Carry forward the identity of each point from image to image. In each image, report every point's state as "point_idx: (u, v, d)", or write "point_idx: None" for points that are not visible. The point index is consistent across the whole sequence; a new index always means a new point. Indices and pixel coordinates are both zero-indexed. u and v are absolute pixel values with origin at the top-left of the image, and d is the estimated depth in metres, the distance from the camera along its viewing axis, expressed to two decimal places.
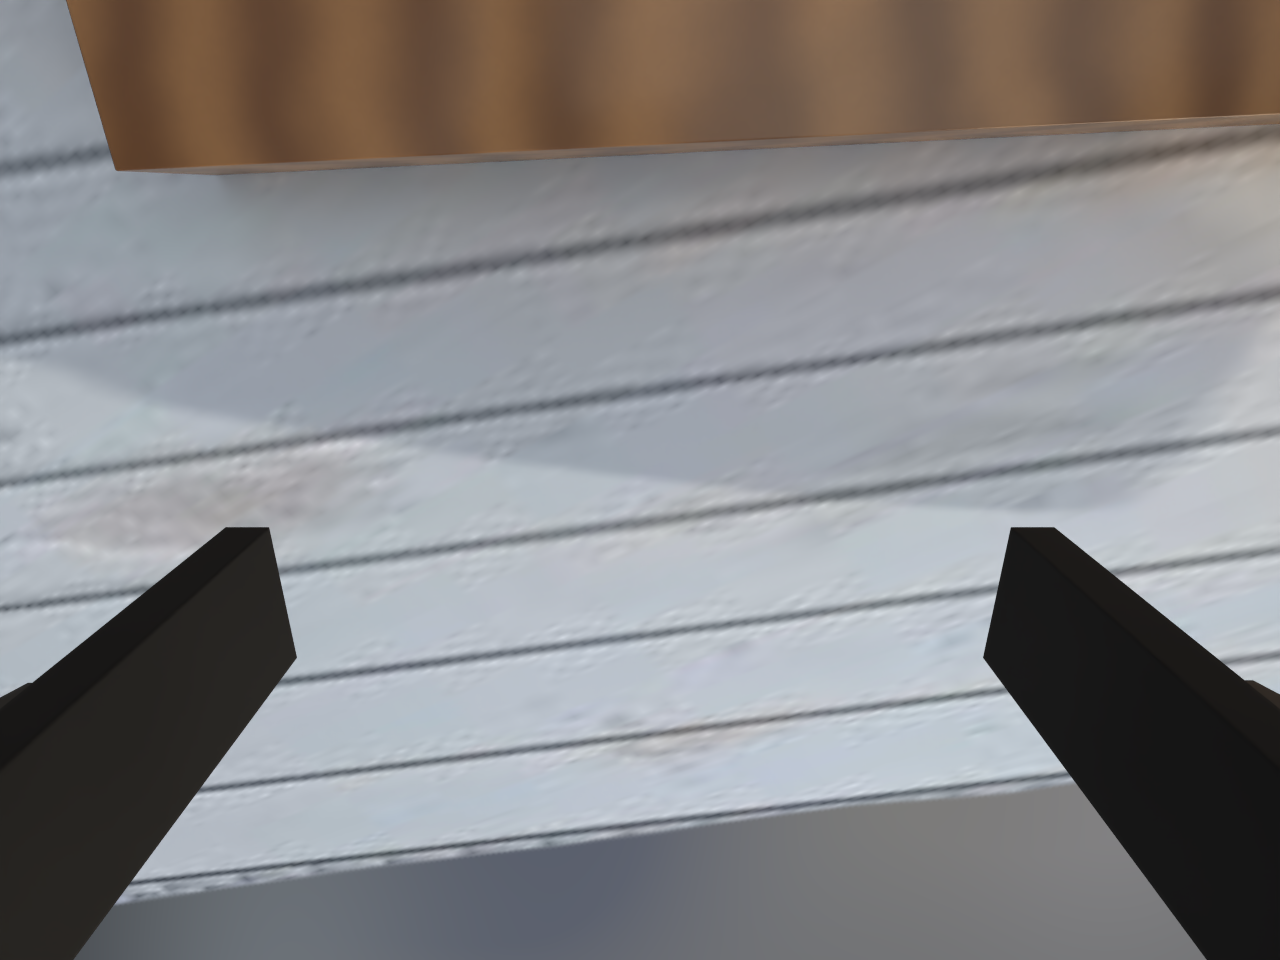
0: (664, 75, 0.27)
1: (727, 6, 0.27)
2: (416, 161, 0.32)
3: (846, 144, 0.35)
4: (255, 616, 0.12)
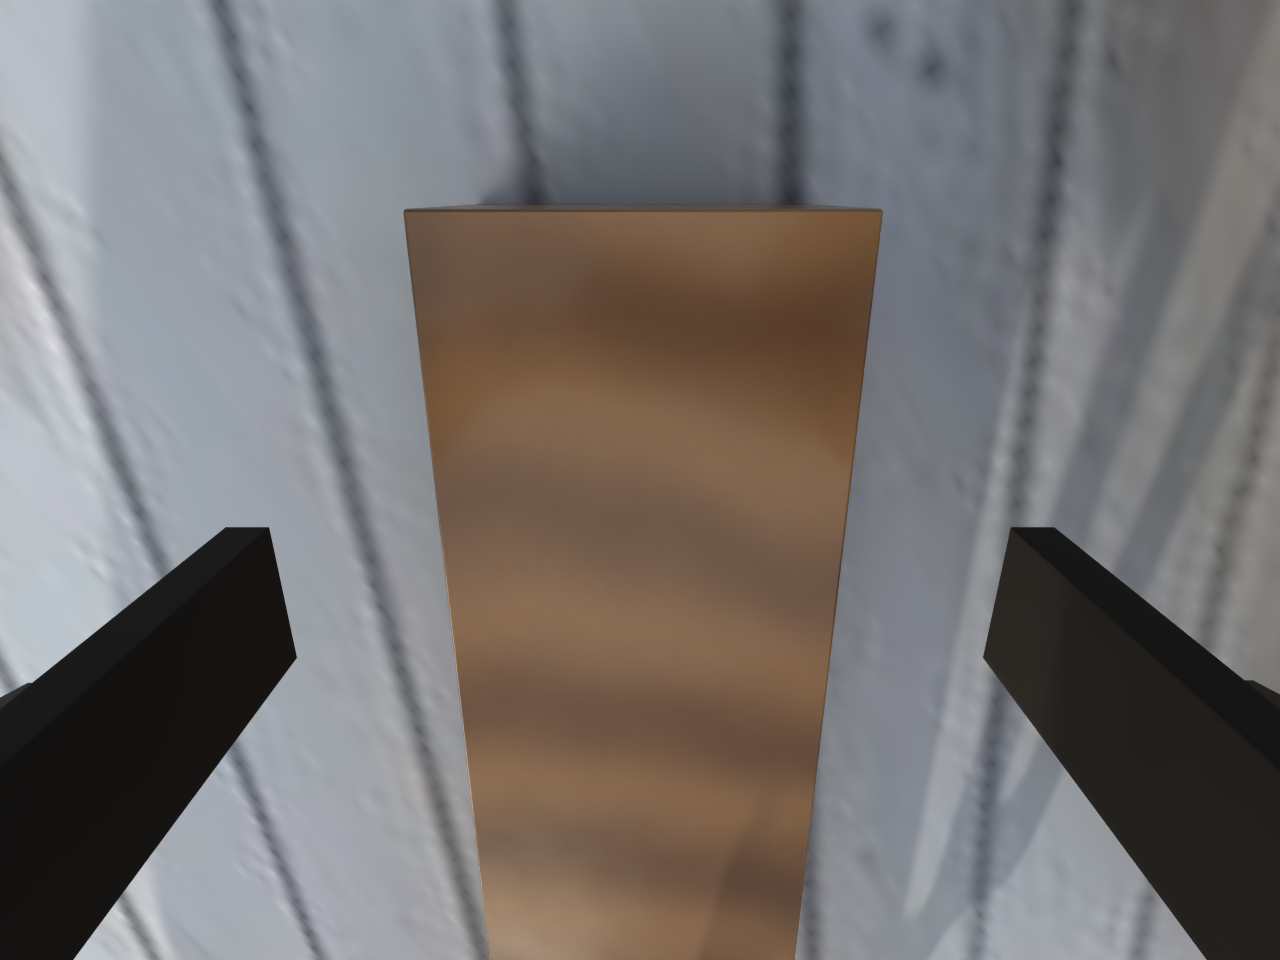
0: (559, 933, 0.23)
1: None
2: None
3: None
4: (255, 616, 0.12)
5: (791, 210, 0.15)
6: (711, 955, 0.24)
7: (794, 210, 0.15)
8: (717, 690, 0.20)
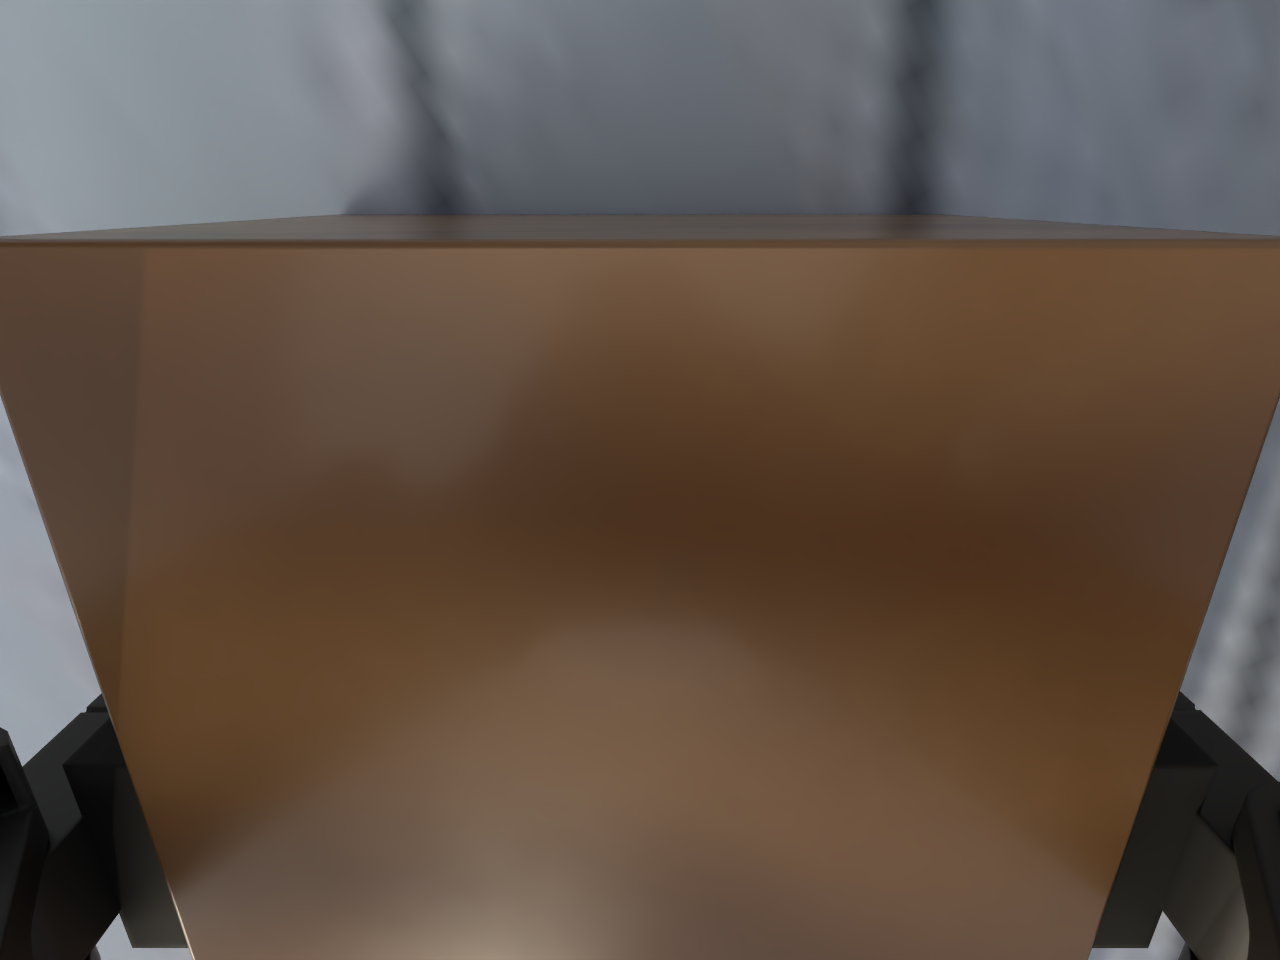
0: None
1: None
2: None
3: None
4: None
5: (1070, 243, 0.05)
6: None
7: (1078, 243, 0.05)
8: None
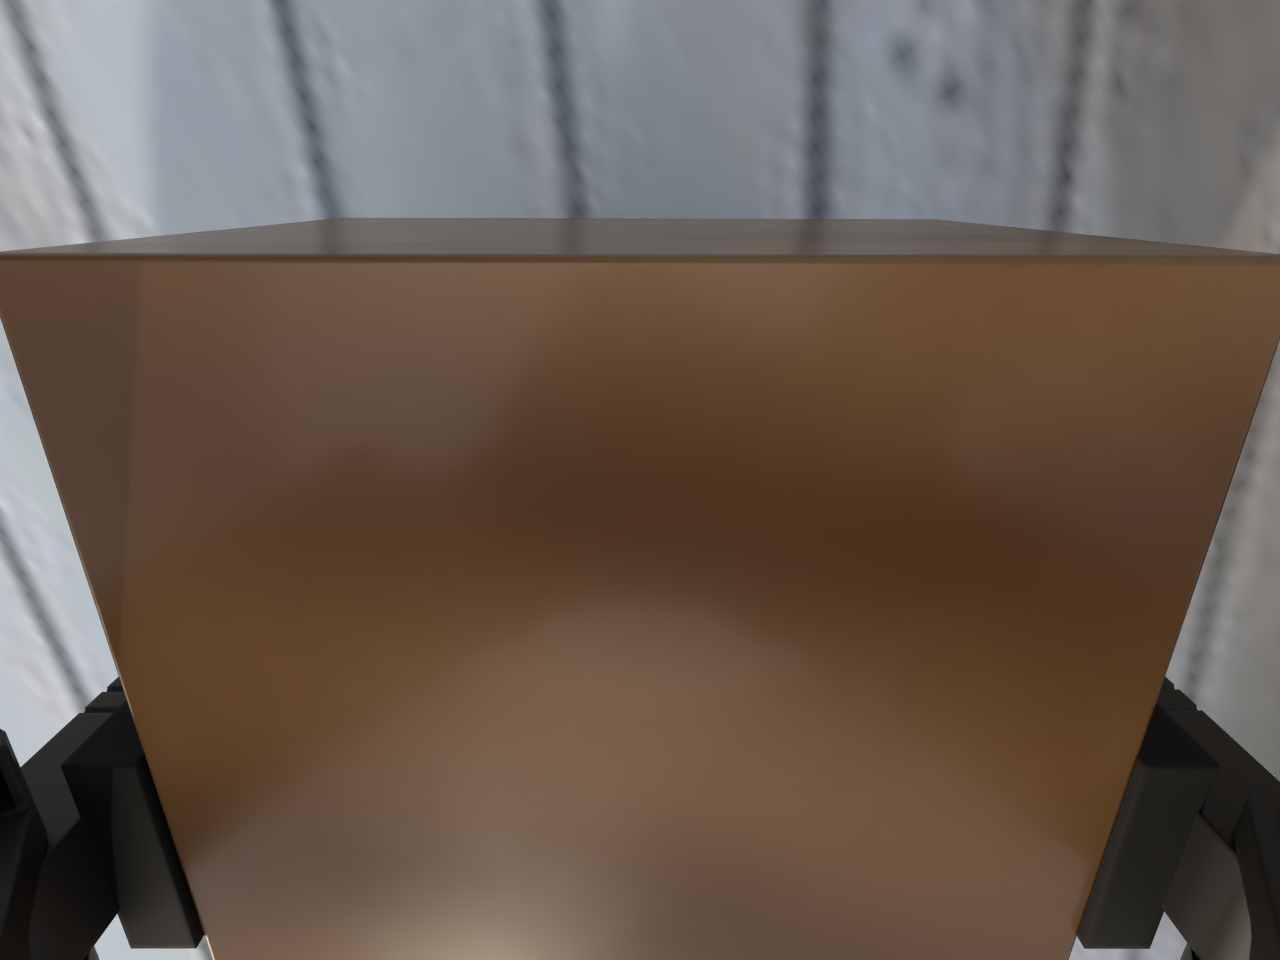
0: None
1: None
2: None
3: None
4: None
5: (1057, 260, 0.05)
6: None
7: (1066, 260, 0.05)
8: None
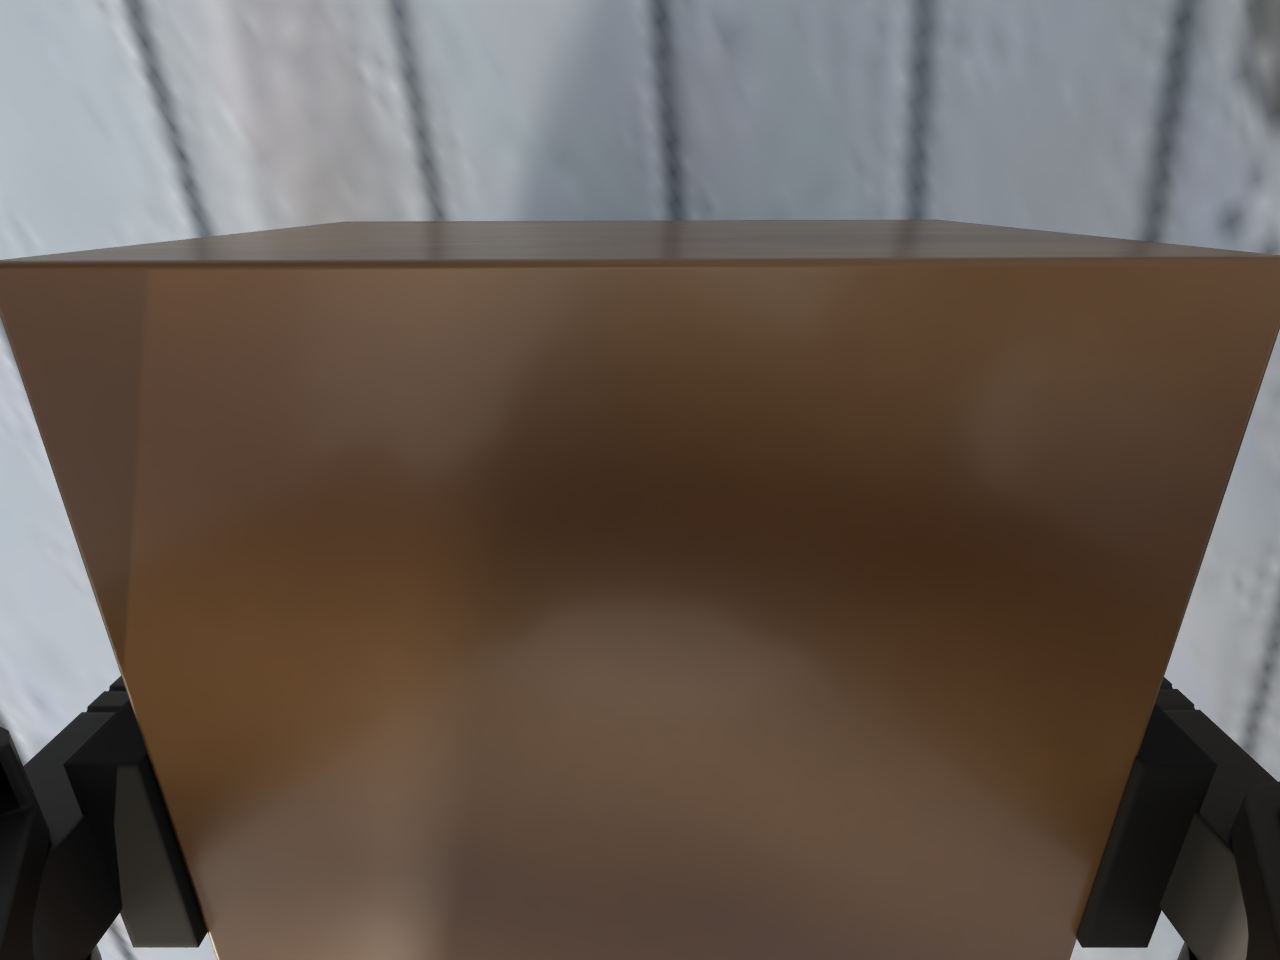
0: None
1: None
2: None
3: None
4: None
5: (1051, 262, 0.05)
6: None
7: (1060, 262, 0.05)
8: None
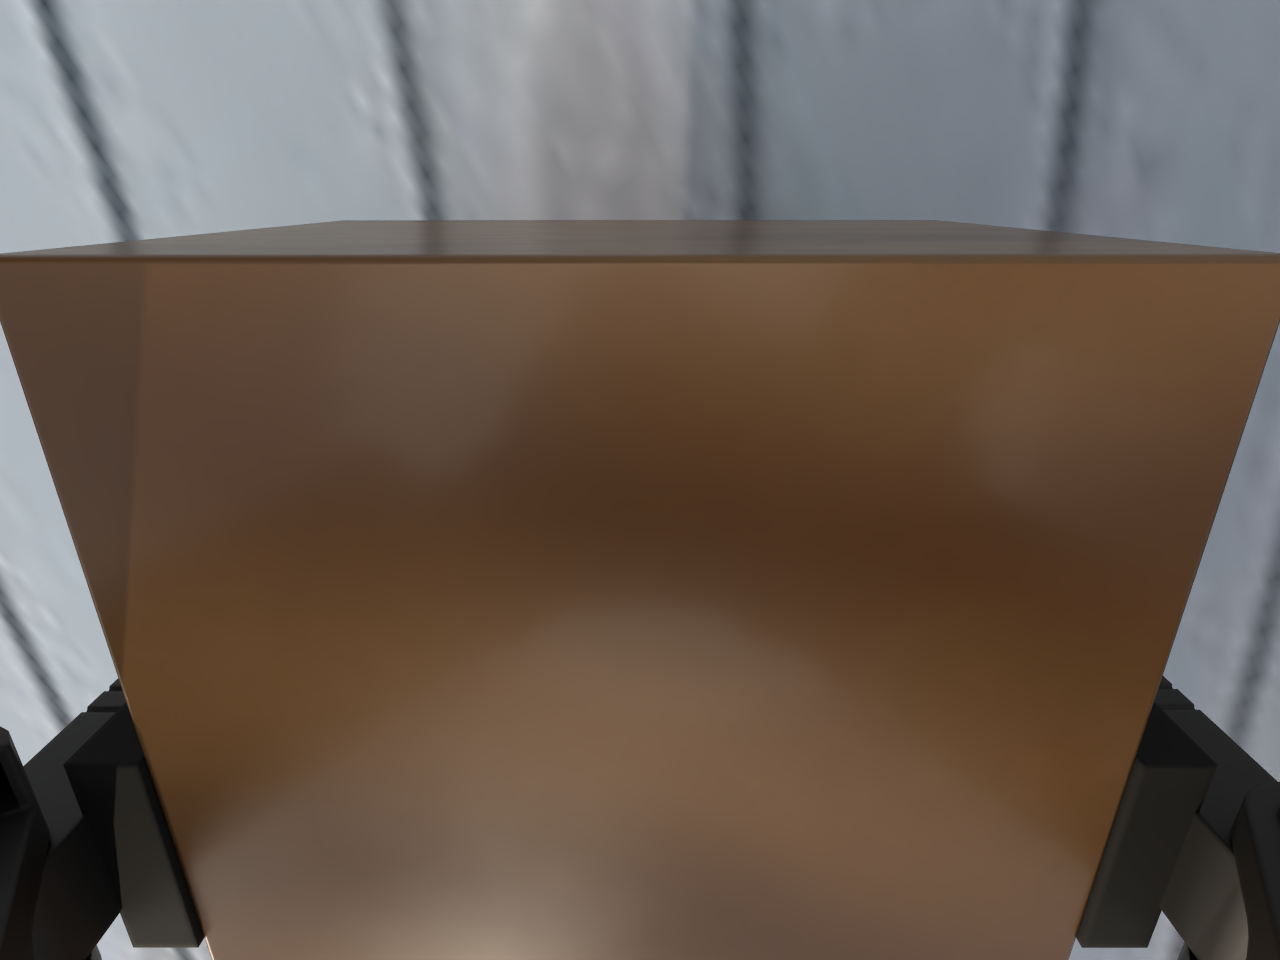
0: None
1: None
2: None
3: None
4: None
5: (1050, 259, 0.05)
6: None
7: (1058, 259, 0.05)
8: None
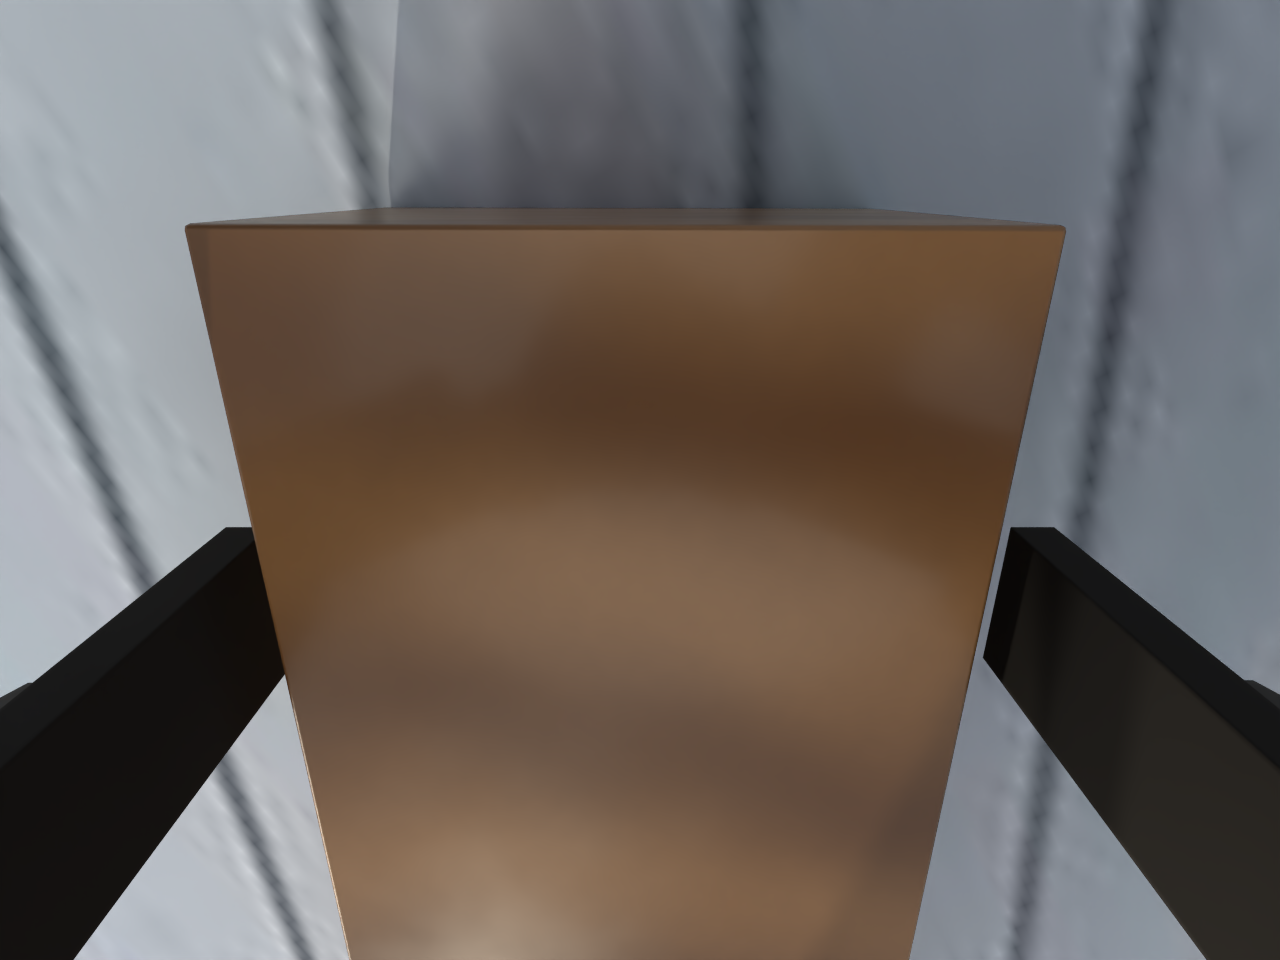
0: None
1: None
2: None
3: None
4: (255, 616, 0.12)
5: (901, 227, 0.08)
6: None
7: (906, 227, 0.08)
8: (745, 953, 0.13)
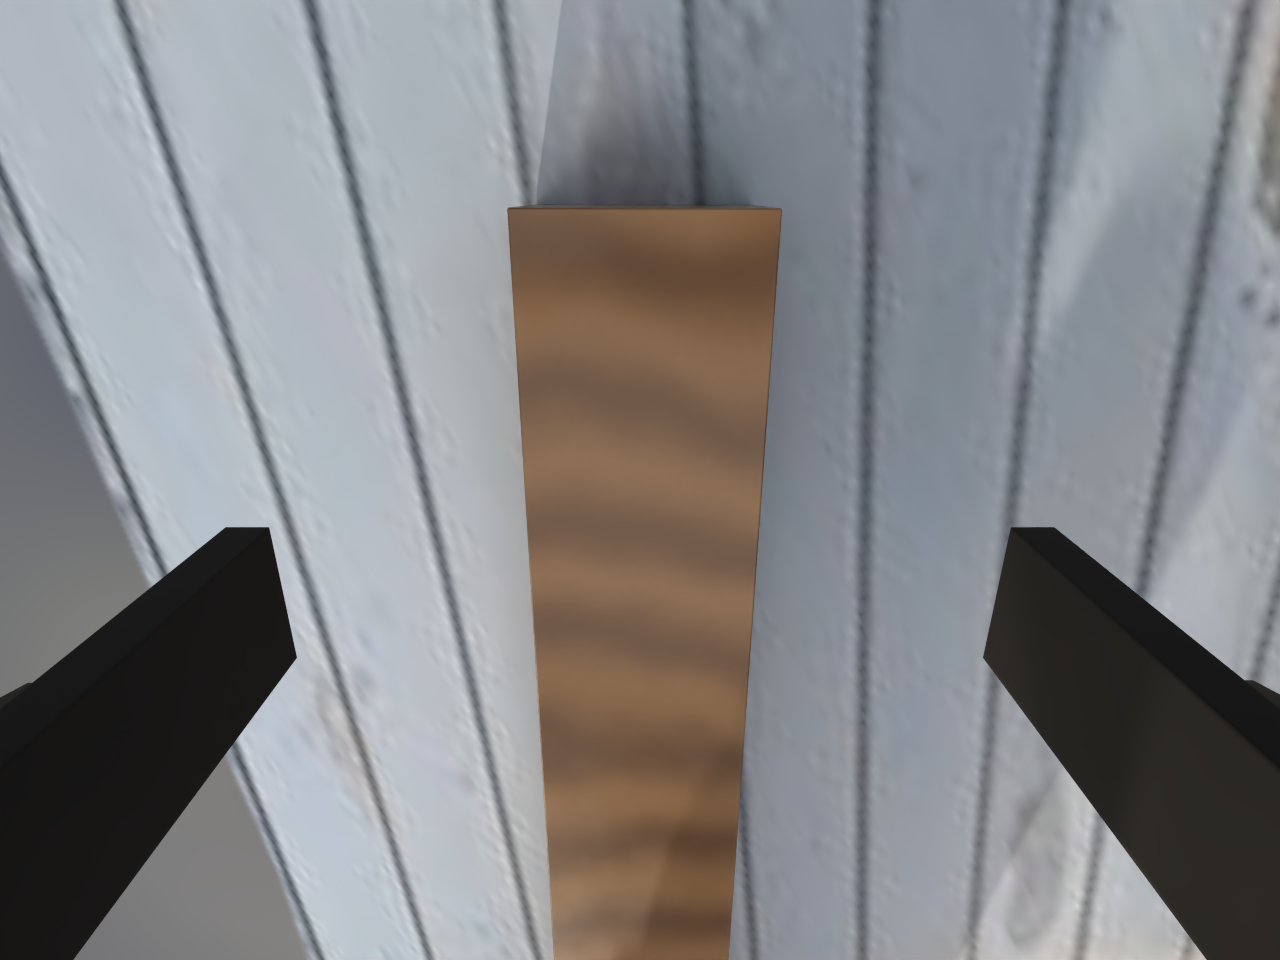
0: (586, 695, 0.35)
1: (631, 734, 0.36)
2: None
3: None
4: (255, 616, 0.12)
5: (729, 209, 0.26)
6: (689, 713, 0.35)
7: (731, 209, 0.26)
8: (690, 513, 0.31)
